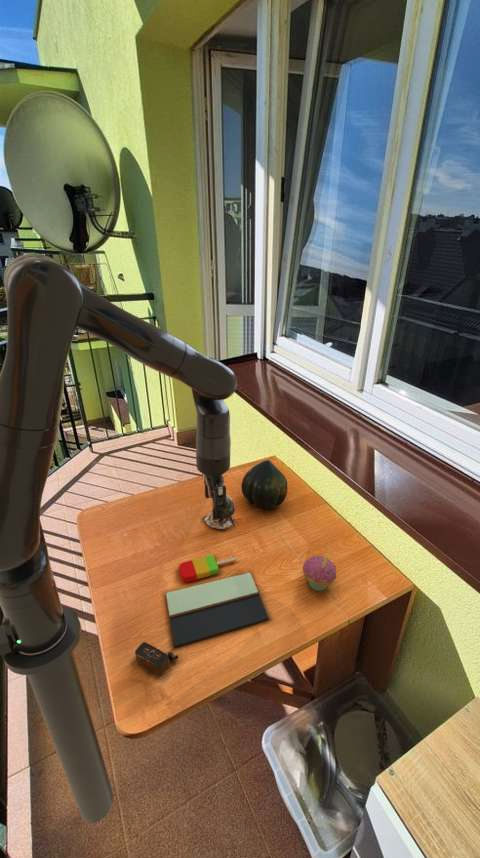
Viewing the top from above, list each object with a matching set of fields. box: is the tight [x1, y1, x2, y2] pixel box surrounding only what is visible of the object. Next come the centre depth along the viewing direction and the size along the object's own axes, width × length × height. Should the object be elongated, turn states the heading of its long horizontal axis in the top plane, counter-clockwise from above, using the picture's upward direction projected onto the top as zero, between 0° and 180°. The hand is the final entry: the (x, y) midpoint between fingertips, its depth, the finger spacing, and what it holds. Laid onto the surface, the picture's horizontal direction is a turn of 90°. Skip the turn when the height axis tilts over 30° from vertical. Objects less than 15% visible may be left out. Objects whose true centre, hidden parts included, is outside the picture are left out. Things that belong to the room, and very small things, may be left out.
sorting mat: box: [165, 572, 270, 649], centre depth 88 cm, size 21×14×1 cm, turn 112°
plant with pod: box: [202, 493, 237, 531], centre depth 109 cm, size 8×11×20 cm
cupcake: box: [302, 553, 337, 591], centre depth 94 cm, size 9×8×12 cm
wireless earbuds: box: [134, 641, 179, 676], centre depth 75 cm, size 5×7×3 cm, turn 65°
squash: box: [240, 459, 288, 511], centre depth 123 cm, size 14×15×15 cm
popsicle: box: [178, 554, 238, 583], centre depth 98 cm, size 6×15×2 cm, turn 115°
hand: (213, 507), depth 91 cm, fingers open, 8 cm apart
